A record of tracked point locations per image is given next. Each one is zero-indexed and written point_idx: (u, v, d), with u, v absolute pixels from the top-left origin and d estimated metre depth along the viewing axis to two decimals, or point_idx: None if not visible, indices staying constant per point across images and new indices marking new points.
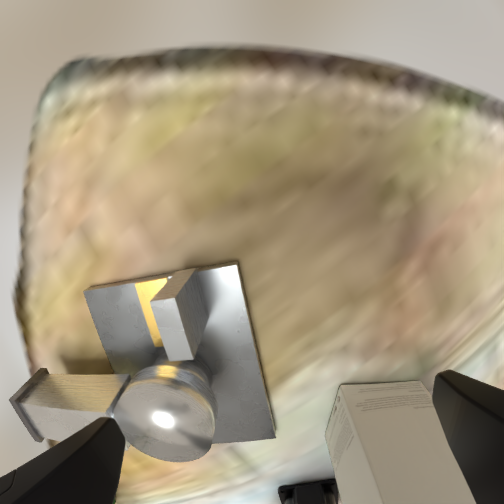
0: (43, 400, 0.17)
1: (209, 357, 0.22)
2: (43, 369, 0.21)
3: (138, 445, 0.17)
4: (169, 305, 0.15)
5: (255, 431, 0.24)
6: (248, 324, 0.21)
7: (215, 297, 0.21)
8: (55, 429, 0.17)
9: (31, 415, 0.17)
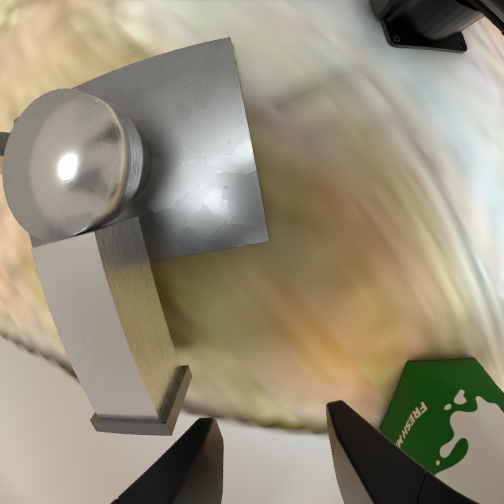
0: None
1: None
2: None
3: (86, 208, 0.11)
4: None
5: (212, 64, 0.15)
6: None
7: None
8: (113, 372, 0.12)
9: (110, 407, 0.13)
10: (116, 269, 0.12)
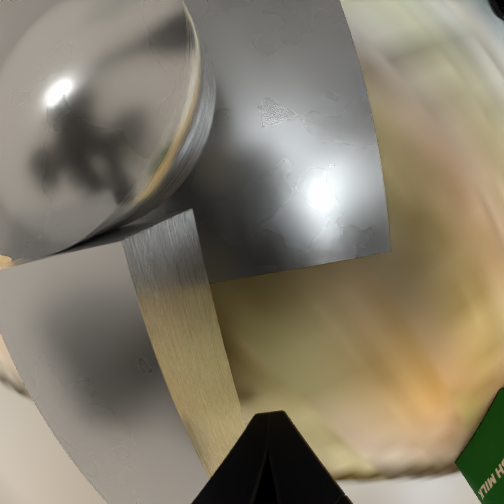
0: None
1: None
2: None
3: (99, 180, 0.04)
4: None
5: None
6: None
7: None
8: (167, 498, 0.06)
9: None
10: (171, 325, 0.05)
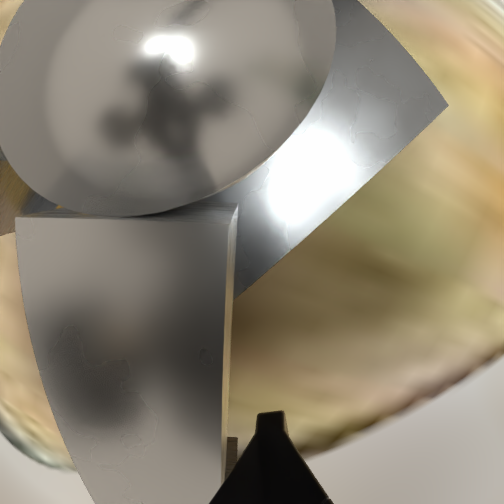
0: None
1: None
2: None
3: (211, 155, 0.04)
4: None
5: None
6: None
7: None
8: (163, 491, 0.05)
9: None
10: (227, 317, 0.05)
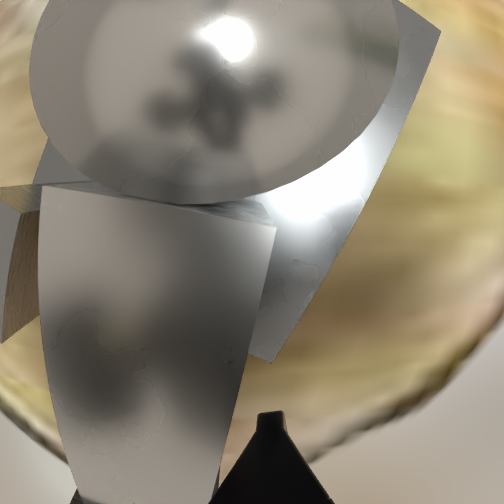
0: None
1: None
2: None
3: (265, 155, 0.04)
4: None
5: None
6: None
7: None
8: (154, 483, 0.05)
9: None
10: None
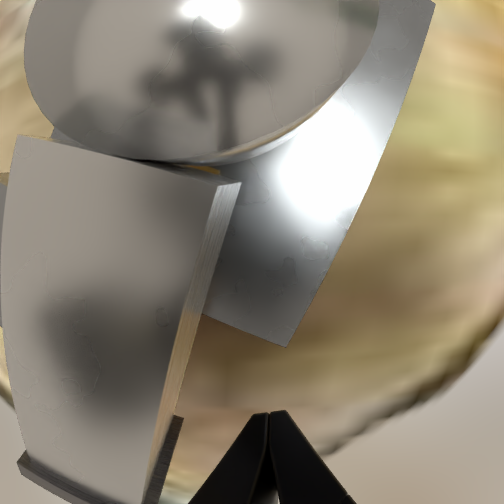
0: None
1: None
2: None
3: (219, 115, 0.04)
4: None
5: None
6: (55, 128, 0.10)
7: None
8: (92, 448, 0.05)
9: (59, 469, 0.06)
10: (196, 285, 0.05)
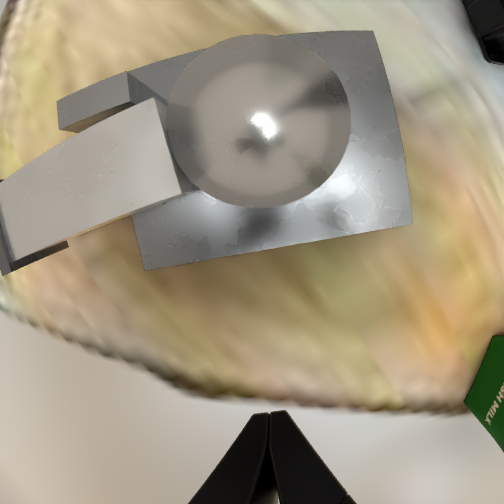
0: None
1: None
2: None
3: (206, 175, 0.10)
4: (63, 105, 0.11)
5: (361, 52, 0.15)
6: (176, 57, 0.15)
7: None
8: (41, 213, 0.11)
9: (6, 205, 0.11)
10: (146, 206, 0.11)
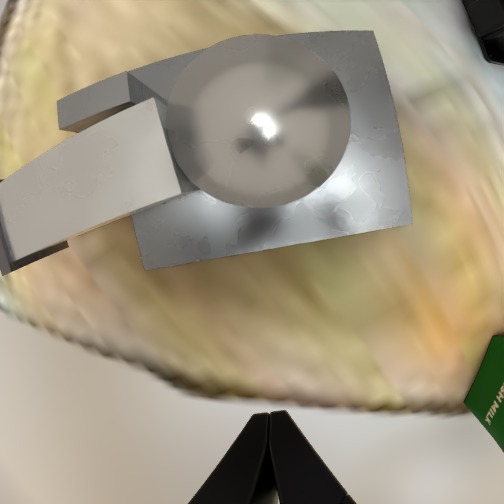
0: None
1: None
2: None
3: (206, 175, 0.10)
4: (63, 105, 0.11)
5: (361, 52, 0.15)
6: (176, 57, 0.15)
7: None
8: (41, 213, 0.11)
9: (6, 205, 0.11)
10: (146, 206, 0.11)
